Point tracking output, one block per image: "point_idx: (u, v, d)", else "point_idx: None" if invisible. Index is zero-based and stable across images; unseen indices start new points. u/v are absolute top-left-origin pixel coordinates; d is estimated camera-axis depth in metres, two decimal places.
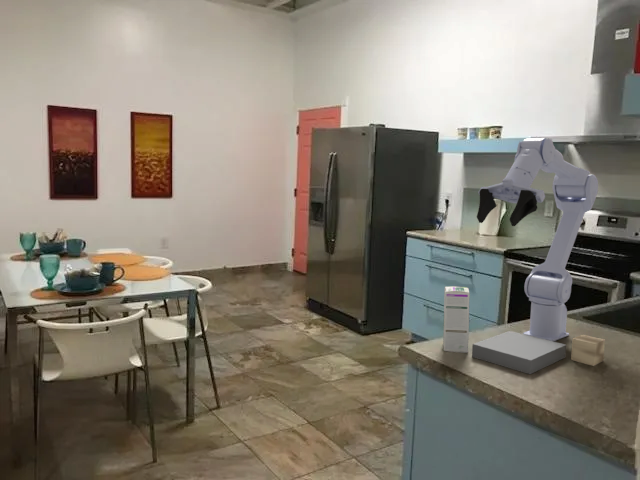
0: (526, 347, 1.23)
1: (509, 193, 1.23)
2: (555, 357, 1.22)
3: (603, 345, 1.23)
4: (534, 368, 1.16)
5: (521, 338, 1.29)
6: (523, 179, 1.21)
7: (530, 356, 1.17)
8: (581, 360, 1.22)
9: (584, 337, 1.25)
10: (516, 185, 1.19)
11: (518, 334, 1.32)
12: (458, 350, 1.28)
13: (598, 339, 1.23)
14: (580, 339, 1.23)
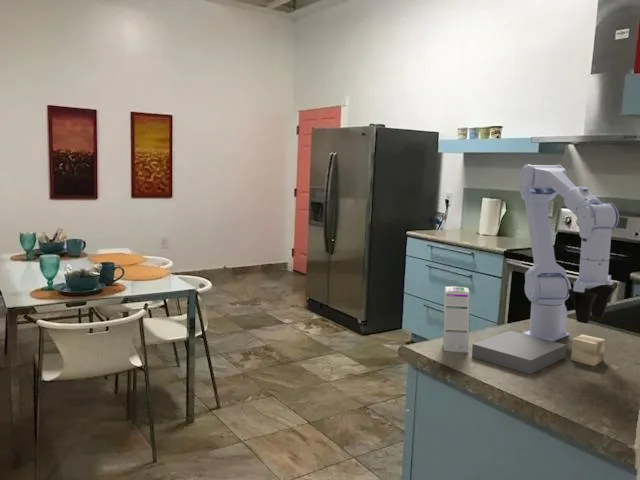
0: (526, 347, 1.23)
1: None
2: (555, 357, 1.22)
3: (603, 345, 1.23)
4: (534, 368, 1.16)
5: (521, 338, 1.29)
6: None
7: (530, 356, 1.17)
8: (581, 360, 1.22)
9: (584, 337, 1.25)
10: None
11: (518, 334, 1.32)
12: (458, 350, 1.28)
13: (598, 339, 1.23)
14: (580, 339, 1.23)
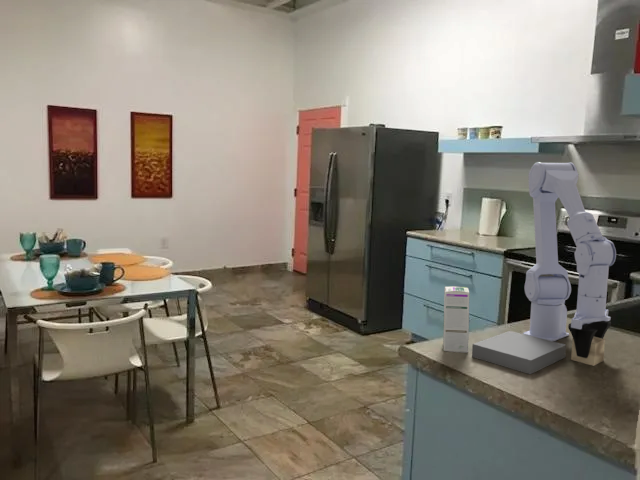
0: (526, 347, 1.23)
1: None
2: (555, 357, 1.22)
3: (603, 345, 1.23)
4: (534, 368, 1.16)
5: (521, 338, 1.29)
6: None
7: (530, 356, 1.17)
8: (581, 360, 1.22)
9: None
10: None
11: (518, 334, 1.32)
12: (458, 350, 1.28)
13: (598, 339, 1.23)
14: None
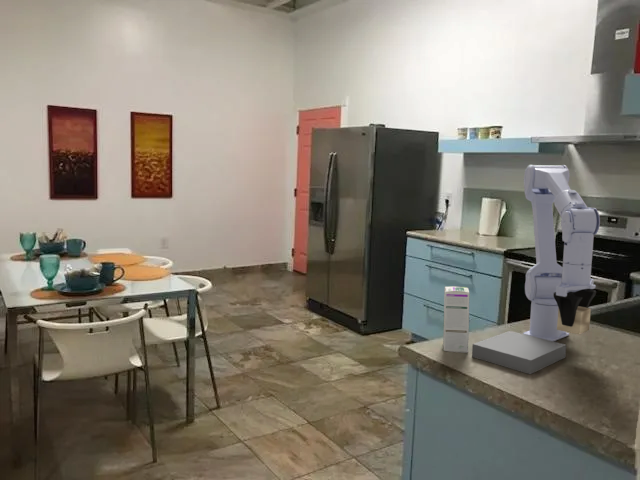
0: (526, 347, 1.23)
1: None
2: (555, 357, 1.22)
3: (589, 314, 1.22)
4: (534, 368, 1.16)
5: (521, 338, 1.29)
6: None
7: (530, 356, 1.17)
8: (567, 329, 1.22)
9: None
10: None
11: (518, 334, 1.32)
12: (458, 350, 1.28)
13: (584, 308, 1.23)
14: None
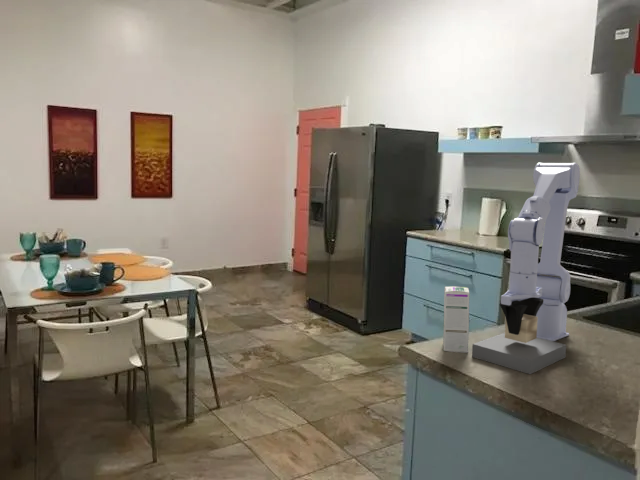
0: (526, 347, 1.23)
1: None
2: (555, 357, 1.22)
3: (536, 322, 1.24)
4: (534, 368, 1.16)
5: None
6: None
7: (530, 356, 1.17)
8: (514, 337, 1.23)
9: None
10: None
11: None
12: (458, 350, 1.28)
13: (531, 316, 1.24)
14: None
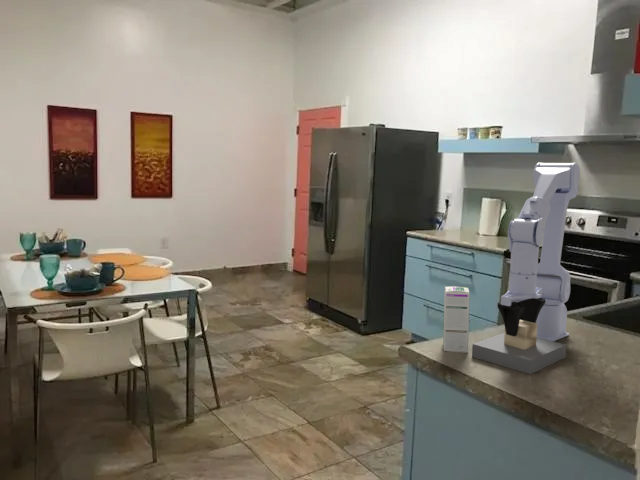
0: None
1: None
2: (555, 357, 1.22)
3: (535, 329, 1.24)
4: (534, 368, 1.16)
5: None
6: None
7: (530, 356, 1.17)
8: (513, 344, 1.23)
9: None
10: None
11: None
12: (458, 350, 1.28)
13: (530, 323, 1.24)
14: None
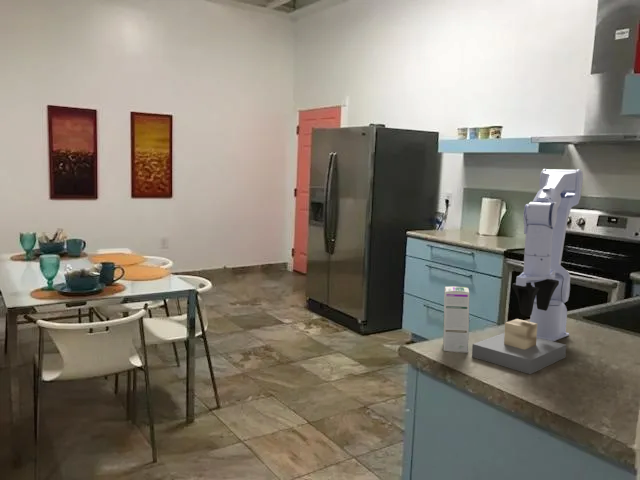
0: None
1: None
2: (555, 357, 1.22)
3: (535, 329, 1.24)
4: (534, 368, 1.16)
5: None
6: None
7: (530, 356, 1.17)
8: (513, 344, 1.23)
9: (517, 321, 1.26)
10: None
11: None
12: (458, 350, 1.28)
13: (530, 323, 1.24)
14: (512, 323, 1.24)
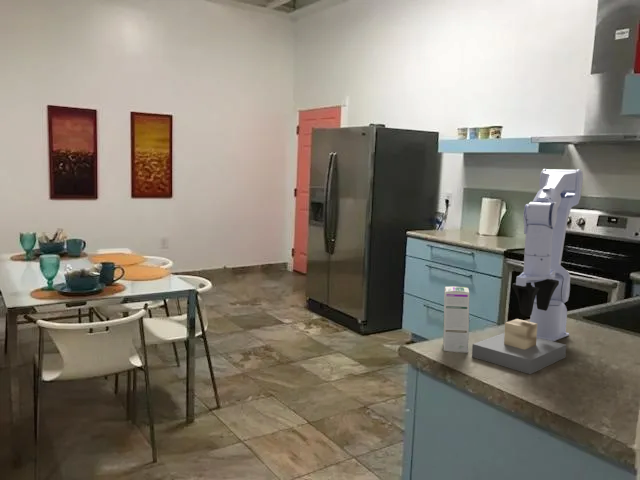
0: None
1: None
2: (555, 357, 1.22)
3: (535, 329, 1.24)
4: (534, 368, 1.16)
5: None
6: None
7: (530, 356, 1.17)
8: (513, 344, 1.23)
9: (517, 321, 1.26)
10: None
11: None
12: (458, 350, 1.28)
13: (530, 323, 1.24)
14: (512, 323, 1.24)
